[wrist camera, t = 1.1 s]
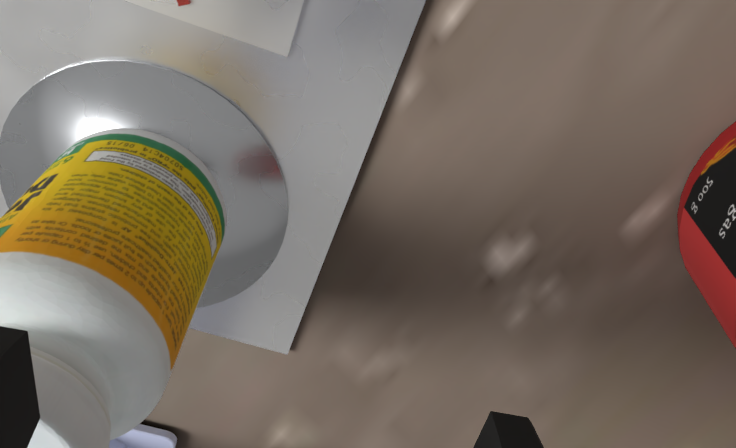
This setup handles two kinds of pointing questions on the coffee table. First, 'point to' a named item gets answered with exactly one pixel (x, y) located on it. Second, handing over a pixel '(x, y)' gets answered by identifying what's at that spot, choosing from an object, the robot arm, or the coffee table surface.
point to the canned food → (712, 228)
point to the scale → (215, 120)
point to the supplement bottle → (108, 278)
